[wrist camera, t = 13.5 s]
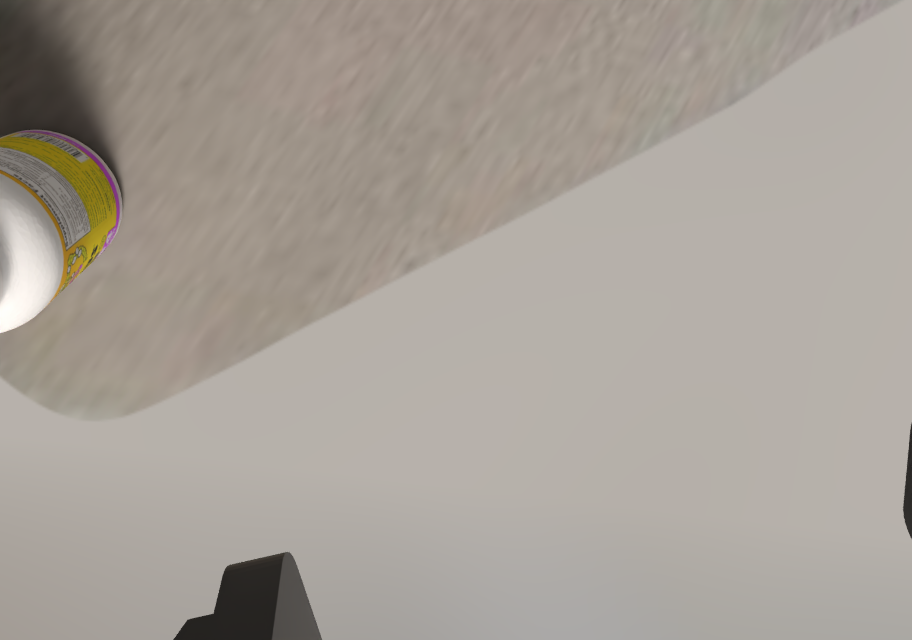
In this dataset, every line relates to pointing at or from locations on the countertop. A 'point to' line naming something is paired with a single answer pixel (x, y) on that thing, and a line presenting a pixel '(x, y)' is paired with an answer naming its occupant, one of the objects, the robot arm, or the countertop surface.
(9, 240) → the supplement bottle
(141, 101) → the countertop surface
